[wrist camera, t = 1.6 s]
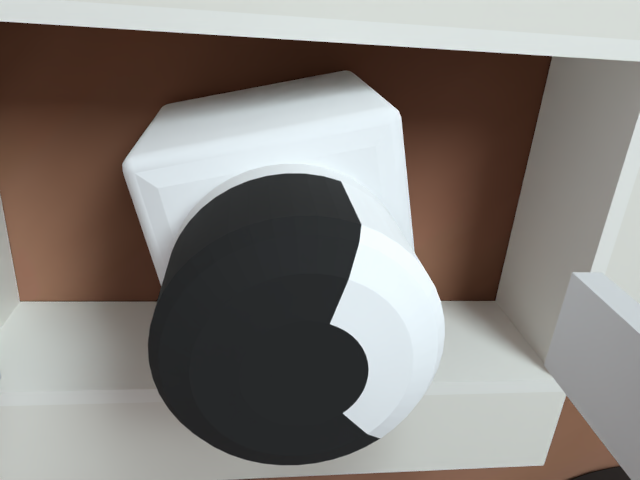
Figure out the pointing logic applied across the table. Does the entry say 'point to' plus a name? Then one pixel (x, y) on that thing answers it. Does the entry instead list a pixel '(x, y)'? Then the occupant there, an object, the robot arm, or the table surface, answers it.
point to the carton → (459, 316)
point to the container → (285, 269)
